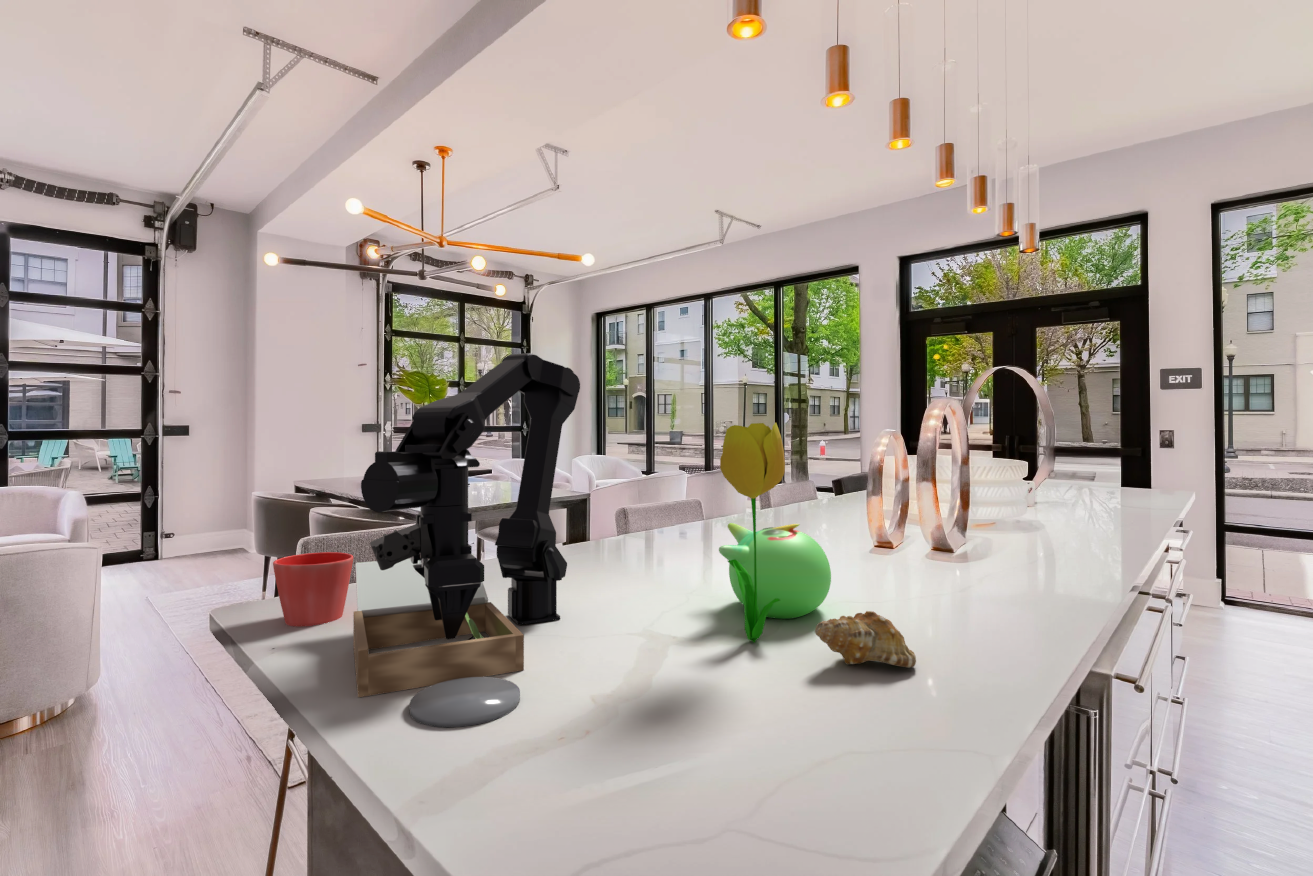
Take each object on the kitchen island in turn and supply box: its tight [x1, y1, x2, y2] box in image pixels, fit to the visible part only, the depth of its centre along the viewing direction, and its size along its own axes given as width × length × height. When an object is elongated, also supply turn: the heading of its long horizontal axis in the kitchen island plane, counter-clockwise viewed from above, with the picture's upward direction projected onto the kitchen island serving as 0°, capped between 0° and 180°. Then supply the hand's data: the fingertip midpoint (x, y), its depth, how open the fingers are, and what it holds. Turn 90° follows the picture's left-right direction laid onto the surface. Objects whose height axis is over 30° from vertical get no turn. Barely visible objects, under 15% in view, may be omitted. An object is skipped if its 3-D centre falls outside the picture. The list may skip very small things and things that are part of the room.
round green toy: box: [718, 522, 832, 620], centre depth 100 cm, size 18×17×15 cm
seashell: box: [814, 610, 917, 668], centre depth 77 cm, size 9×8×10 cm
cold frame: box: [352, 601, 525, 698], centre depth 80 cm, size 18×18×5 cm
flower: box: [719, 422, 786, 644], centre depth 85 cm, size 9×8×30 cm
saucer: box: [409, 676, 521, 728], centre depth 66 cm, size 11×11×1 cm
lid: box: [355, 553, 489, 618], centre depth 92 cm, size 17×11×10 cm, turn 117°
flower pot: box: [272, 551, 354, 627], centre depth 98 cm, size 11×11×10 cm
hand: (444, 628), depth 80 cm, fingers open, 9 cm apart
